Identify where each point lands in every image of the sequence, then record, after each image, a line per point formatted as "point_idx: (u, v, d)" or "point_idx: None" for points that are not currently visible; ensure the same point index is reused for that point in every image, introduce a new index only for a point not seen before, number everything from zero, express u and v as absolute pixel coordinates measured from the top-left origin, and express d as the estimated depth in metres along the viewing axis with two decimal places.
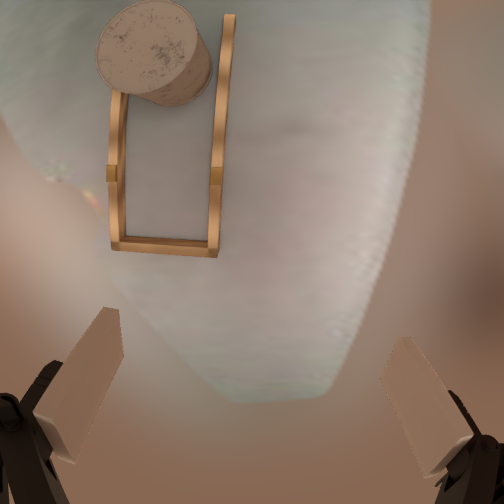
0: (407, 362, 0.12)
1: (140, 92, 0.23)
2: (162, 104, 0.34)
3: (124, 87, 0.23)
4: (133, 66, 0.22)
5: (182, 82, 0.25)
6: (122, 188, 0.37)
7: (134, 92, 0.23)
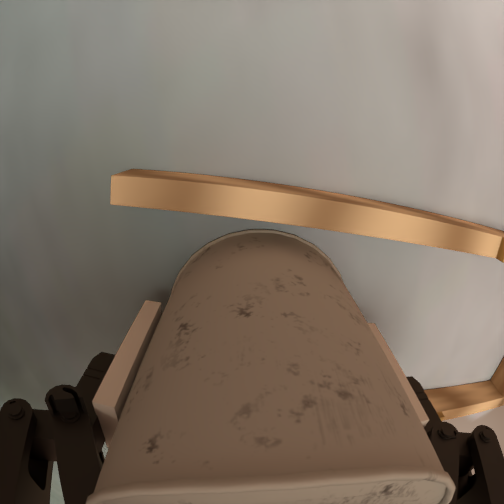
0: None
1: None
2: None
3: None
4: None
5: (408, 399, 0.07)
6: (443, 393, 0.19)
7: None
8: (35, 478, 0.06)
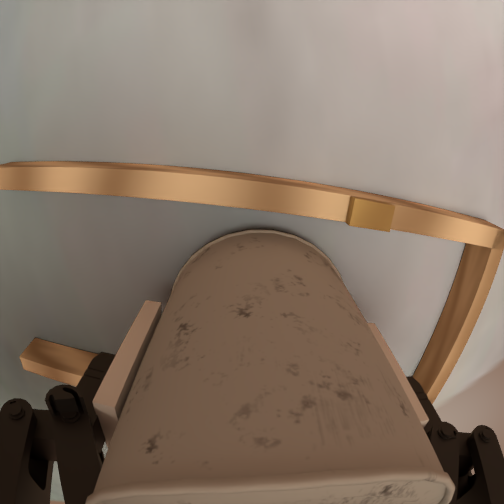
0: None
1: None
2: None
3: None
4: None
5: (408, 400, 0.07)
6: None
7: None
8: (35, 478, 0.06)
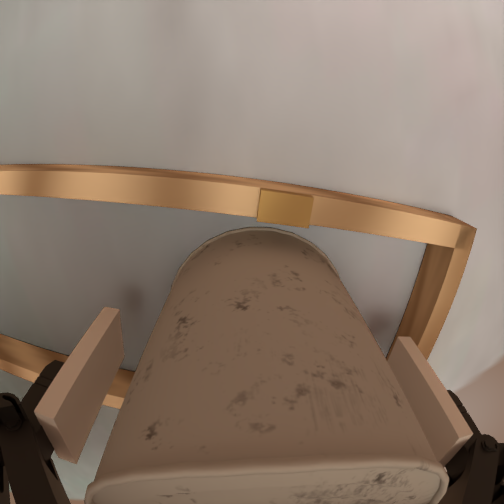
0: (406, 361, 0.12)
1: None
2: None
3: None
4: None
5: (402, 392, 0.07)
6: None
7: None
8: None
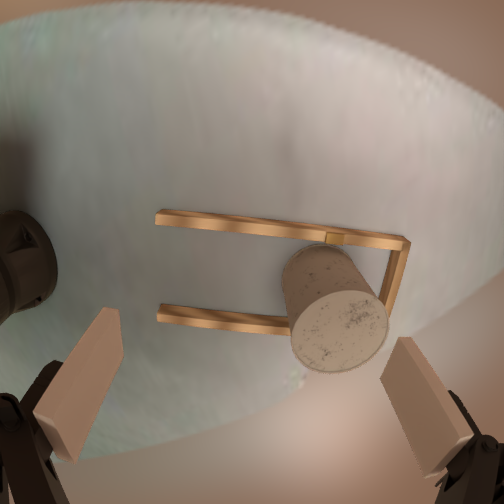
0: (407, 362, 0.12)
1: (386, 334, 0.28)
2: None
3: (375, 347, 0.28)
4: (359, 341, 0.28)
5: None
6: None
7: (384, 339, 0.28)
8: None
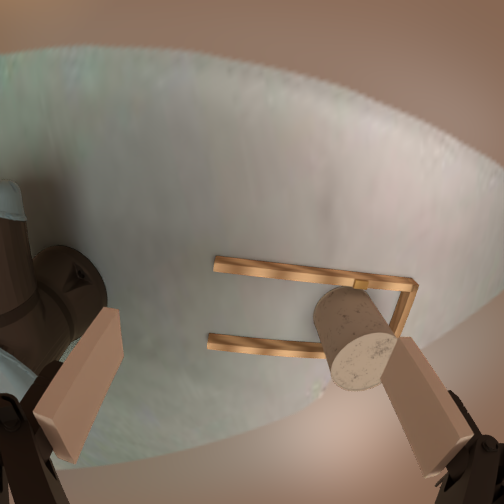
0: (407, 361, 0.12)
1: None
2: None
3: None
4: (380, 367, 0.35)
5: None
6: None
7: None
8: None
